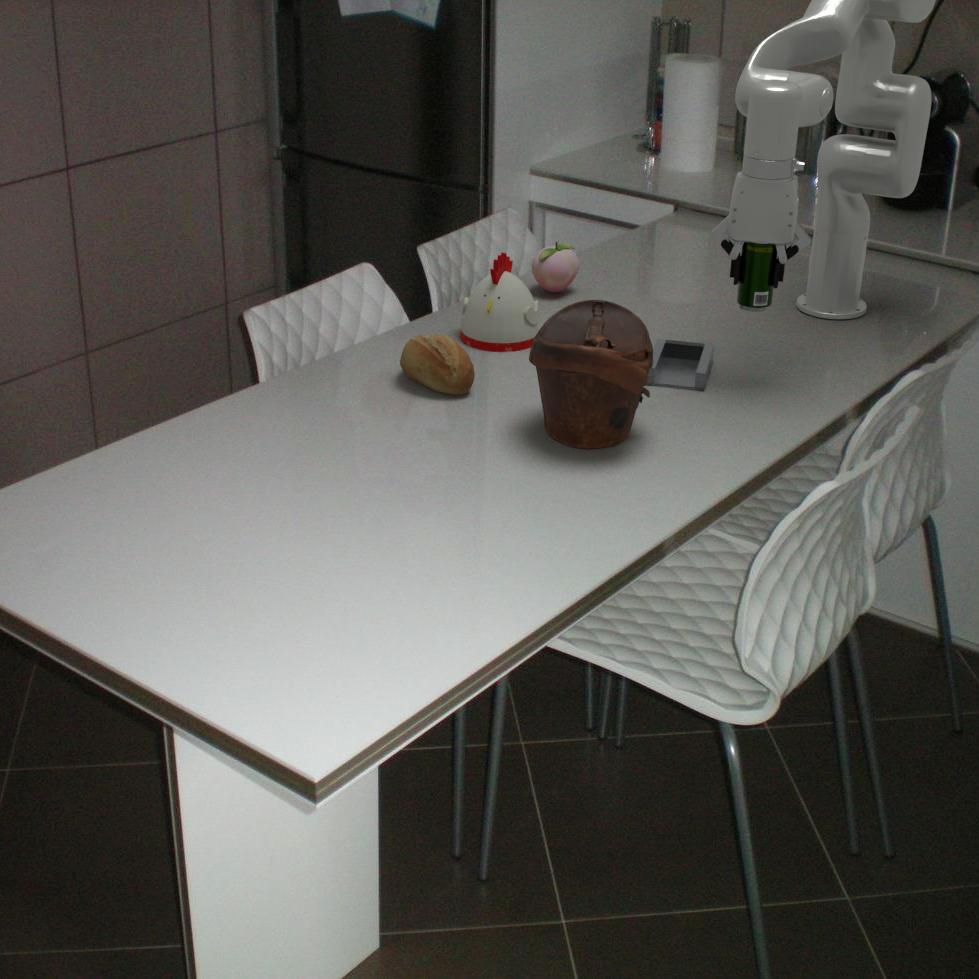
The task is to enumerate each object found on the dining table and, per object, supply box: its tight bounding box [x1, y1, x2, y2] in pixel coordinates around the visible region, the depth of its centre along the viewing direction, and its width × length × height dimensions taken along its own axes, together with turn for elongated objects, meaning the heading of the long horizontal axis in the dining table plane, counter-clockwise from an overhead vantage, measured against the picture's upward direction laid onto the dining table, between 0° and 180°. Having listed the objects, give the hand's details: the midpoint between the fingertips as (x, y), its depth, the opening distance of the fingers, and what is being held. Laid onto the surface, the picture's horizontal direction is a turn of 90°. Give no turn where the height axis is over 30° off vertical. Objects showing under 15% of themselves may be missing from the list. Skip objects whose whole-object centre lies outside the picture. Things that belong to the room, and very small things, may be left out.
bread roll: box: [399, 333, 476, 395], centre depth 218 cm, size 10×15×8 cm, turn 39°
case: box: [528, 299, 654, 450], centre depth 201 cm, size 18×20×18 cm
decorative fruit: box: [531, 241, 581, 294], centre depth 257 cm, size 9×8×10 cm
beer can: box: [736, 241, 778, 313], centre depth 212 cm, size 5×5×12 cm
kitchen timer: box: [460, 252, 542, 353], centre depth 235 cm, size 14×14×15 cm
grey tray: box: [646, 338, 715, 392], centre depth 225 cm, size 13×10×3 cm
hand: (755, 282), depth 213 cm, fingers closed on beer can, 5 cm apart
